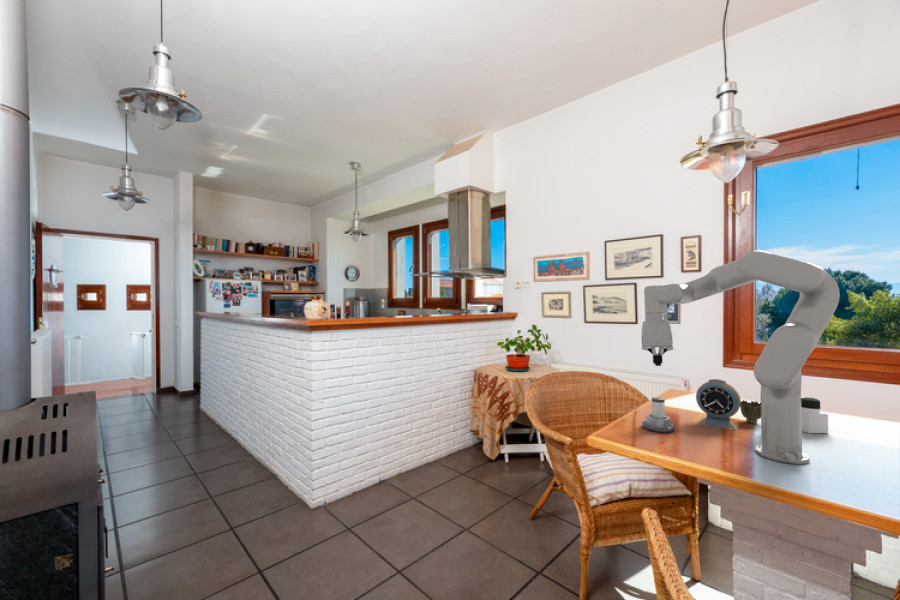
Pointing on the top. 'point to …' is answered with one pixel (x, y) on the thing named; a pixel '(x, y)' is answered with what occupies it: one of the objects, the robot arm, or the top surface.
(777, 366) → the robot arm
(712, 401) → the alarm clock
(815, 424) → the medicine bottle
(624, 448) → the top surface
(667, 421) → the ring
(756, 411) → the cup
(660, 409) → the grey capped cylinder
